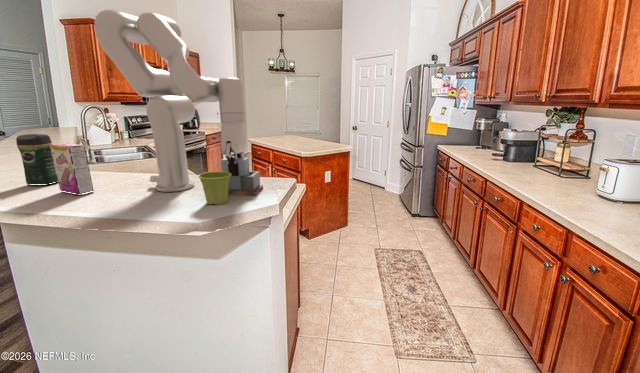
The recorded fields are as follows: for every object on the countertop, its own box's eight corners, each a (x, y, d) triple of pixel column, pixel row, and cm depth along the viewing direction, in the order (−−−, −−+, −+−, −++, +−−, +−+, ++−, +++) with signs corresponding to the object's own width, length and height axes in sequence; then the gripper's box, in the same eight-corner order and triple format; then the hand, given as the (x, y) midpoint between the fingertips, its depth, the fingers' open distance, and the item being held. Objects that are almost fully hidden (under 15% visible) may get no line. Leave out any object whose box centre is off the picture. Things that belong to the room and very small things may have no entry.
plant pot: (224, 195, 106) (222, 169, 104) (238, 202, 99) (236, 174, 97) (196, 201, 100) (193, 174, 98) (209, 209, 93) (206, 179, 91)
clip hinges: (214, 190, 107) (212, 175, 106) (223, 184, 115) (221, 170, 113) (253, 191, 106) (252, 176, 105) (260, 185, 113) (259, 171, 112)
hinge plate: (211, 194, 107) (211, 191, 107) (221, 187, 116) (221, 184, 115) (255, 195, 106) (255, 192, 105) (263, 188, 114) (262, 184, 114)
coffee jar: (65, 181, 125) (54, 132, 120) (47, 187, 118) (35, 135, 113) (41, 181, 126) (30, 132, 121) (22, 186, 118) (9, 135, 113)
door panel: (223, 189, 109) (220, 160, 106) (228, 186, 113) (225, 157, 110) (247, 189, 108) (244, 160, 106) (250, 186, 112) (248, 157, 109)
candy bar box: (59, 192, 110) (48, 144, 106) (75, 189, 114) (65, 142, 110) (79, 196, 106) (68, 146, 101) (95, 192, 110) (85, 144, 106)
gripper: (230, 116, 113) (234, 168, 118) (210, 120, 97) (215, 179, 101) (251, 116, 112) (254, 168, 117) (234, 120, 96) (239, 180, 101)
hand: (236, 173), depth 109 cm, fingers open, 4 cm apart
